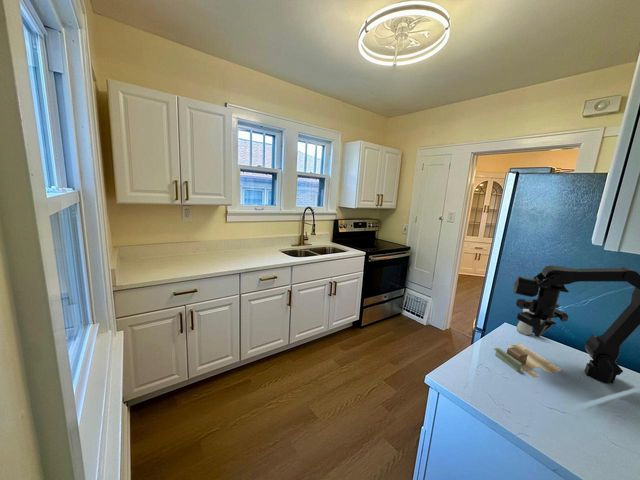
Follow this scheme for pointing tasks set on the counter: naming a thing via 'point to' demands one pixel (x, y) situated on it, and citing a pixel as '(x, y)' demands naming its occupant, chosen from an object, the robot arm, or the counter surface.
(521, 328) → the salt shaker
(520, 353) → the walnut block
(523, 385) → the counter surface
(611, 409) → the counter surface
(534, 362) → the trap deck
